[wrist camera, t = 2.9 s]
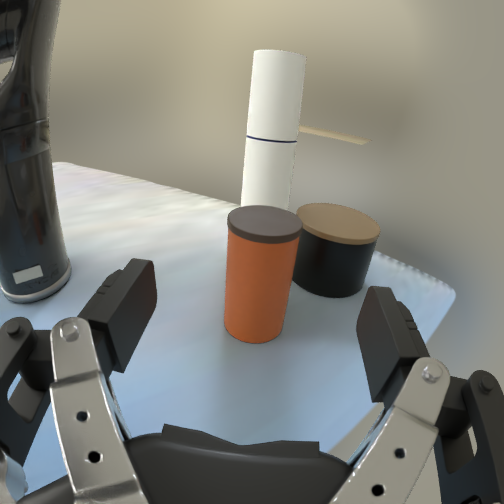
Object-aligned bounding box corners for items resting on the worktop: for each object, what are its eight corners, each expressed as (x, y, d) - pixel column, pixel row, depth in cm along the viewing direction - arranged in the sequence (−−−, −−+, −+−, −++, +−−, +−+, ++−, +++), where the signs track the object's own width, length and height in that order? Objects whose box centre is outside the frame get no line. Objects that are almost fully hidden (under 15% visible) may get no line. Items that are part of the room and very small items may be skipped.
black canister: (272, 276, 33) (280, 217, 30) (308, 246, 40) (317, 197, 37) (349, 310, 29) (368, 249, 26) (372, 271, 36) (387, 220, 32)
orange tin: (210, 324, 26) (211, 218, 21) (246, 296, 30) (255, 199, 25) (261, 354, 23) (279, 244, 18) (294, 319, 27) (314, 219, 22)
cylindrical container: (236, 224, 44) (251, 48, 32) (243, 207, 50) (256, 55, 38) (285, 231, 44) (308, 53, 31) (286, 212, 50) (304, 60, 37)
